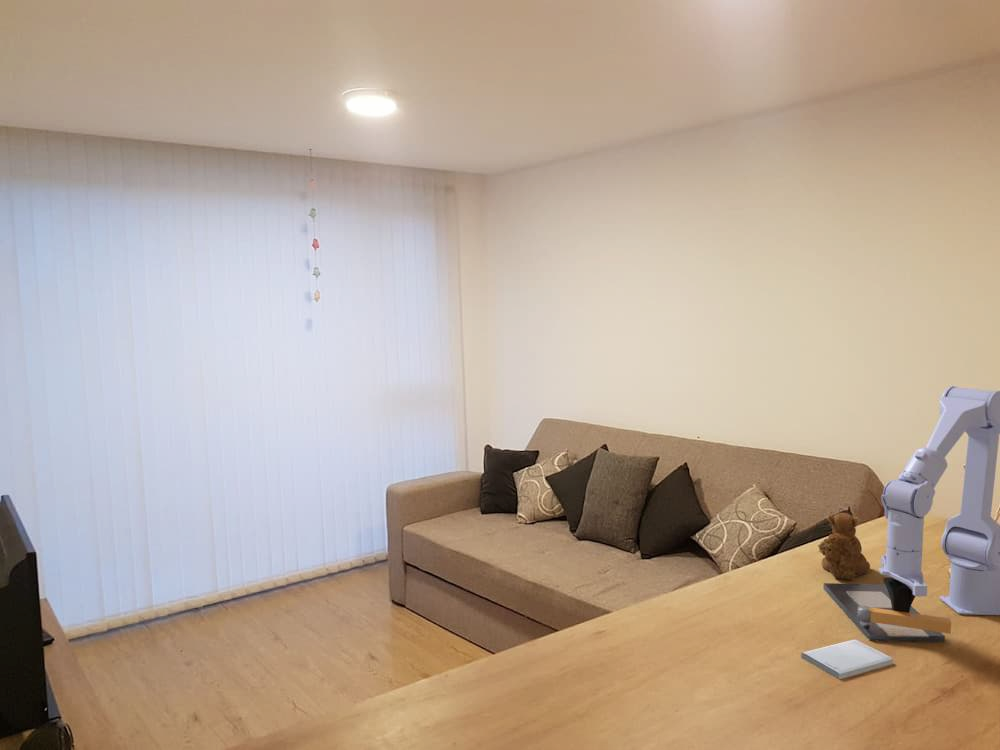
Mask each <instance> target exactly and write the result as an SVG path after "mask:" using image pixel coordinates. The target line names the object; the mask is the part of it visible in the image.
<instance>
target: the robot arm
mask: <svg viewBox="0 0 1000 750" xmlns="http://www.w3.org/2000/svg"><path fill="white" fill-rule="evenodd" d="M939 413H940V414H939V415H940V417H939V419H938V421H937V424H936V425H935V427H934V429H933V430H932V431H933V432H932V433H931V435H930V437H929V439H928V441H927V444H926V446H925V447H921V448H918V449H915V451H914V452H913V454H912V455H911V458H909V460H908V462H907V463H906V465H905V466H904V468H903V470H902V471H901V473H900V475H899V476H898V477H897V478H896V479H893V480H891V481H889V482H887V483H886V484H885V486H884V488H883V490H882V491H883V492H882V495H881V497H880V499H881V505H882V506H883V508H884V517H885V519H886V520H887V529H886V530H887V531H886V550H885V552H886V553H885V555H881V557H880V566H881V567H878V572H879V574H880V575H882V576H887V577H883V578H882V581H883V583H884V584H885V585H886V587H887V590H888V593H889V596H890V600H891V605H892V610H894V611H901V612H908V613H909V612H910V607H911V606H912V604H913V603H914V602H913V601H914V600H915V599H916V597H928V585H927V584H926V583H925V580H924V574H923V571H922V560H923V546H924V545H923V544H924V525H925V524H924V523H925V516H927V515H928V513H929V512H930V511H931V509H932V506H933V503H934V496H935V494H936V490H935V488H936V486H937V484H938V482H939V481H940V479H941V478H942V476H943V474H944V472H946V469H947V468H948V462H947V459H946V457H947V455H948V454H949V452H951V450H952V449H953V447H954V446H955V445H956V443H958V441H959V440H960V438H961V437H962V436H963V435H964V433H966V434H967V435H968V437H967V447H966V456H965V465H964V474H963V485H962V486H963V487H962V493H961V494H962V495H961V504H960V512H959V513H958V514H956V515H953V516H952V517H950V518H948V519H947V521H946V525H945V528H944V532H943V533H942V535H941V540H940V541H941V548H942V551H943V553H944V555H946V556H947V561H950V577H949V578H950V579H949V592H948V593H949V595H940V596H939V599H940V600H941V601H943V602H944V603H945V604H946V605H947V606H949V607H950V608H951V609H952V610H953V611H955V612H956V613H957V614H959V615H972V616H973V615H975V616H978V615H979V616H1000V524H999V523H998V522H997V521H996V520H995V519H994V518H993V517H992V508H993V498H994V497H993V496H994V489H995V488H994V487H995V479H996V470H997V469H996V468H997V460H998V452H999V442H1000V390H988V389H987V390H985V389H979V388H978V389H977V388H966V387H958V386H954V385H952V386H948V387H946V389H945V390H944V391H943V393H942V395H941V397H940V400H939Z"/></svg>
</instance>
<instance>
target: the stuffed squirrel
mask: <svg viewBox="0 0 1000 750" xmlns="http://www.w3.org/2000/svg"><path fill="white" fill-rule="evenodd" d="M826 519H827V521H828V522H829V524H828V525H829V526H830V525H831V526H830V527H831V529H832V533H830V534H829V535H828V537H827V538H825V539H823V541H821V542H820V543H819V544H818V545H817V547H818V549H819V550H817V551H818V553H821V554H822V556H824V557H823V558H822V560H821V566H822V569H824V570H825V571H828V572H829V573H830V574H831V575H832V576H833V577H835V578H836V579H842V580H843V581H845V580H846V581H852V580H853V579H855V578H856V577H855V576H862V575H867V574H868V573H869V572H870V570H871V564H870V563H869V561H867V558H866V557H865V555H864V554H863V553H862V548H863V547H862V545H861V542H860V540H859V538H858V537H857V536H856V533H857V529H856V528H857V524H858V523H859V521H860V518H859V517H858V516H853V515H851V514H850V513H847V512H839V513H837V514H834V516H832V515H827V516H826Z"/></svg>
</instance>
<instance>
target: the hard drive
mask: <svg viewBox="0 0 1000 750" xmlns="http://www.w3.org/2000/svg"><path fill="white" fill-rule="evenodd" d="M800 658H801V659H802V660H805V661H806V662H808V663H809V664H812V665H813V666H815V667H817V668H818V669H820V670H822V671H823V672H825V673H827V674H829V675H831V676H833V678H834V677H835V678H836V679H838V680H842V679H846V678H850V677H853V676H857V675H860V674H863V673H867V672H871V671H873V669H874V670H877V669H880V668H884V667H887V666H892V665H893V664H894V658H893V657H891V656H890V655H887V654H885V653H883V652H881V651H879V650H877V649H875V648H873V647H871V646H869V645H867V644H865V643H863V642H861V641H859V640H857V639H851V640H846V641H843V642H839V643H834V644H831V645H826V646H823V647H820V648H816V649H811V650H807V651H804V652H801V654H800ZM870 670H871V671H870Z"/></svg>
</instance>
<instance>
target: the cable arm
mask: <svg viewBox="0 0 1000 750" xmlns="http://www.w3.org/2000/svg"><path fill="white" fill-rule="evenodd" d="M857 618H858V619H859V620H860V621H864V622H874V623H881V624H888V625H894V626H901V627H908V628H915V629H921V630H928V631H935V632H941V633H942V634H949V635H950V634H951V632H952V629H951V628H952V627H951V626H952V621H951V619H950V618H949V617H942V616H935V615H929V614H928V615H927V614H922V613H920V614H915V613H908V612H901V611H894V610H886V609H879V608H872V607H868V606H858V615H857Z"/></svg>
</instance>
